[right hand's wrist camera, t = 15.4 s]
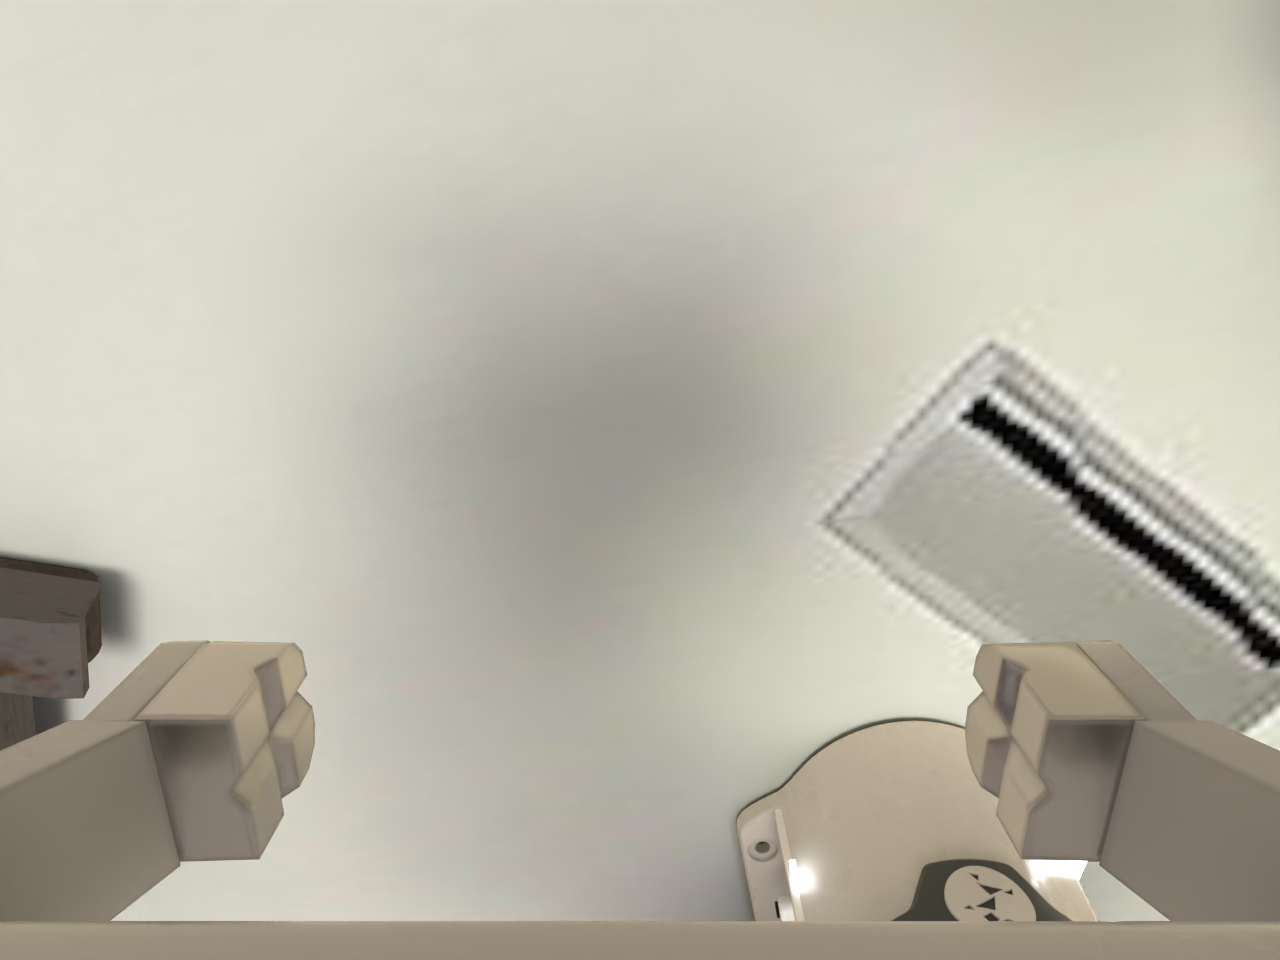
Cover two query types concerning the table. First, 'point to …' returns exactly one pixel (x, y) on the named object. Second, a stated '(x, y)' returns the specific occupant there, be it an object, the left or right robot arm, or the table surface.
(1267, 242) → the table surface
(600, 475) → the table surface
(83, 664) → the toy
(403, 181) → the table surface
